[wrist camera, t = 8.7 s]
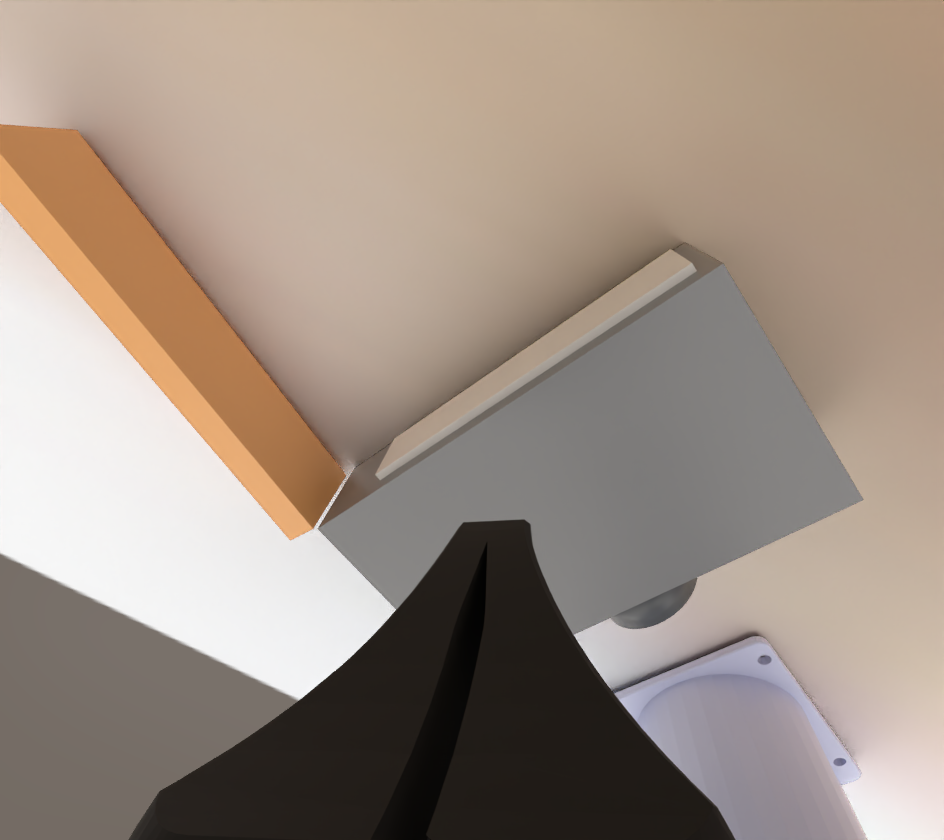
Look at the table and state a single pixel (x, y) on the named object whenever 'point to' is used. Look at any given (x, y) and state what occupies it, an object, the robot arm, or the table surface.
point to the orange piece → (164, 320)
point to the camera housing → (609, 454)
